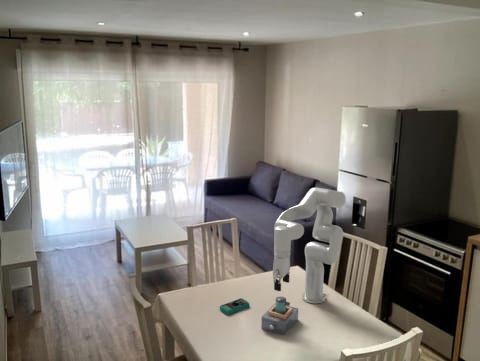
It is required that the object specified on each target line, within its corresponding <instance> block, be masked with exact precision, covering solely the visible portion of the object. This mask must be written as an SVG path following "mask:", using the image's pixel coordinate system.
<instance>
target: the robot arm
mask: <svg viewBox="0 0 480 361" xmlns="http://www.w3.org/2000/svg"><path fill="white" fill-rule="evenodd" d="M346 199H347V198H346V194H345V193H344V192H343V191H339V190H333V189H330V188H325V187H324V188H323V187H312V188H310V189H309V190H308V191H307V192H306V194H305V196H304V197H303V198H302V199H301V201H300V202H299V203H298V204H297V205H294V206H292V207H290V208H288V209H286V210H285V211H283V212H282V213H281V214H280V215H279V217H278V218H277V219H276V221H275V223H274V226H273V231H274V232H273V233H274V235H273V237H274V239H273V242H274V243H273V244H274V245H273V255H274V257H273V265H272V266H273V267H272V278H273V284H274V285H273V289H274V291H276V292H281V291H282V283H281V281H282V282H283V283H290V273H291V272H290V270H291V251H292V250H291V248H292V247H291V246H292V245H291V243H292V242H291V241H294V240H298V239H300V238H302V236H304V233H305V228H304V226H303V225H302V224H301V223H298V222H294V221H295V220H301V219H302V220H303V219H308V218H311V217H312V216H313V215H314V214H315V212H317V213H316V217H315V221H314V224H313V229H312V238H314V239H315V240H317V241H321V242H322V243H321V242H317V241H310V242H308V243H306V244H305V247H304V256H305V281H304V282H305V283H304V284H305V285H304V292H303V293H302V294H301V299H302V300H303V301H304V302H306V303H309V304H321V303H324V302H325V301H326V295H325V294H324V275H325V267H324V264H326V265H330V266H331V265H335V263H337V261H338V258H339V255H340V250H341V245H342V244H343V237H344V232H343V231H344V230H343V228H342V227H340V226H339V225H334V224H332V223H333V219H334V214H333V210H332V208H337V209H341V208H342V207H344V206H345V204H346V201H347V200H346ZM323 242H325V243H323ZM326 243H329V244H326Z"/></svg>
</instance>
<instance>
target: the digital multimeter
mask: <svg viewBox="0 0 480 361" xmlns="http://www.w3.org/2000/svg"><path fill="white" fill-rule="evenodd" d="M248 308H250V302H249V301H247V299H244V298H242V297H241V298H238V299H235V300H232V301H229V302H227V303H224V304H221V305H219V310H220V311H221V312H222V313H223V314H225V315H227V316H229V315H232V314H234V313H237V312H239V311H242V310H244V309H245V310H246V309H248Z"/></svg>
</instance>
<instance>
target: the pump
mask: <svg viewBox="0 0 480 361" xmlns="http://www.w3.org/2000/svg"><path fill="white" fill-rule="evenodd" d="M275 303H276V304H275ZM275 303H274V304H275V313H279V314H283V315H285V314H286V305H287V306H291V305H290V304H291V302H289V301H287V298H286V297H284V296H276V297H275Z"/></svg>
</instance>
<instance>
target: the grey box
mask: <svg viewBox="0 0 480 361" xmlns="http://www.w3.org/2000/svg"><path fill="white" fill-rule="evenodd" d="M275 304H276V302H275V303H274V304H273V305H271V307H270V308H269V309H268V310H266V312H265V313H264V314H263V315H262V316H261V329H262V330H265V331H268V332H271V333H274V334H277V335H282V336H286V335H287V334H288V333H289V331H290V330H291V329H292V328H293V327H294V325H295V324H296V323H297V321H298V320H299V308H297V307H294V306H291V305H289V306H287V305H286V314H285V315H283V314H279V313H275Z"/></svg>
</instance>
